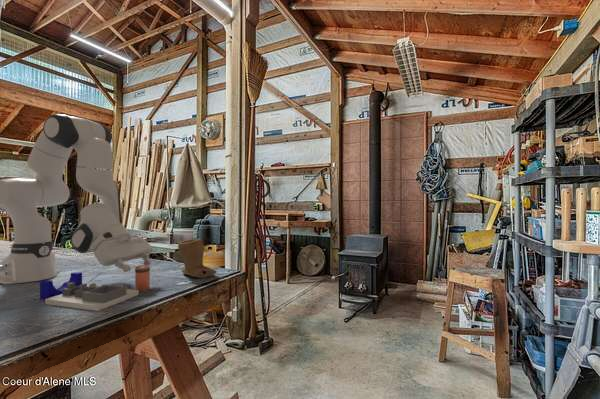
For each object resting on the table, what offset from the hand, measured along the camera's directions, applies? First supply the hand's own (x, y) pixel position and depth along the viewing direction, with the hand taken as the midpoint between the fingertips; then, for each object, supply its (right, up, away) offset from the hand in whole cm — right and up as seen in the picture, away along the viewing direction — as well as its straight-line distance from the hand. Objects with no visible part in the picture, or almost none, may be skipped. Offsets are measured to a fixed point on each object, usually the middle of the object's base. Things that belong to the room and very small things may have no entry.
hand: (139, 267), depth 108 cm
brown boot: (+13, -8, +19) cm, 25 cm away
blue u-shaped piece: (-23, -8, -5) cm, 25 cm away
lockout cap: (+1, -8, 0) cm, 8 cm away
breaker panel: (-9, -8, -10) cm, 16 cm away
